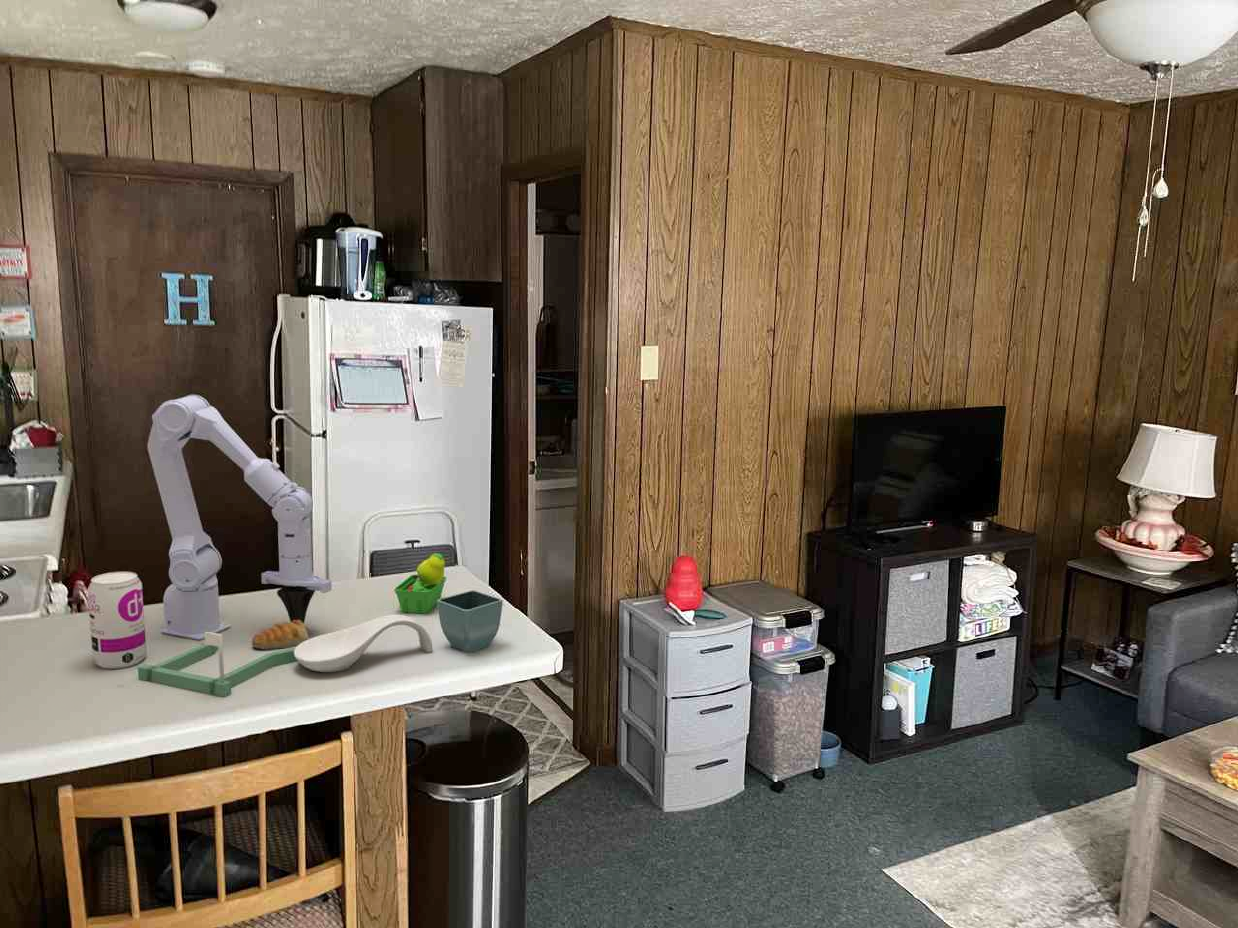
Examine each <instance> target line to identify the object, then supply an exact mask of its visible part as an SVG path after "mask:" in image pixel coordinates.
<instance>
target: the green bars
mask: <svg viewBox="0 0 1238 928" xmlns="http://www.w3.org/2000/svg"><path fill="white" fill-rule="evenodd" d="M204 634H205V638H204V643H203V644H200V645H199V646H196V647H194V648H191V649H190V650H187V651H185V652H183V653H180V654H178V655H176V656H173V657H171V658H169V659H166V660H164V661H162V662H160V663H157V664H154V665H151V664H146V663H144V664H142V665H140V666H138V667H137V671H138V672H137V674H138V680H143V681H148V682H152V683H156V684H162V685H165V686H166V685H167V686H170V687H176V688H180V689H183V690H184V689H185V690H190V691H193V692H199V693H203V694H209V695H214V696H218V697H222V698H225V697H227V696H229V695H232V688H233V687H235V686H237V685H239V684H241V683H243V682H244V681H247V680H248V679H250V678H253V677H254V676H257V675H259V674H260V673H263V672H264V671H267V670H268V669H271V668H273V667H277V666H280V665H285V664H289V663H294V662H298V661H297V659H296V658H295V656H294V650H295V648H296V647H293V648H288V649H282V650H279V651H274V652H269V653H266V654H264V655H263V656H260V657H257V658H256V659H254V660H252V661H250V662H248V663H245V664H244V665H241V666H239V667H237V668H235V669H233V670H231V671H229V672H227V673H224V671H225V669H224V651H223V634H222V633H221V632H217V633H210V632H204ZM217 651H218V665H219V666H218V667H219V677H217V678H215V677H209V676H205V675H204V676H203V675H199V674H195V673H189V672H185V671H180V670H181V669H184V668H186V667H189V666H191V665H193V664H195V663H197V662H200V661H202V660H204V659H206V658H208V657H211V656H213V655H215V654H216V652H217Z"/></svg>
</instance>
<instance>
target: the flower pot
mask: <svg viewBox="0 0 1238 928" xmlns="http://www.w3.org/2000/svg"><path fill="white" fill-rule="evenodd" d="M503 601H504V600H503V599H502V598H499V597H496V596H492V595H490V594H486V593H484V592H481V591H478V590H474V589H473V590H468V591H464V592H460V593H457V594H454V595H450V596H446V597H445V596H444V597H443V598H440V599H438V600H437V603H436V605H437V611H438V618H439V619H438V620H439V623H440V628H441V630H442V632H443V634H444V637H445V638H446V640H447V641H448V642H449V643H450V645H451V646H452V647H454V648H456V649H459V650H461V651H463V652H465V653H471V652H475V651H478V650H480V649H481V650H482V649H484V648H487V647H489V646H490V645H491V644H492V642H493V641H494V639H495V637H496V636H497V635H498V631H499V629H500V625H501V618H502V609H503V604H504V603H503Z"/></svg>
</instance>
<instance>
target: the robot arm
mask: <svg viewBox="0 0 1238 928" xmlns="http://www.w3.org/2000/svg"><path fill="white" fill-rule="evenodd" d="M151 419H152V426H151V429H150V433H149V437H148V441H147V451H148V454H149V458H150V463H151V466H152V469H153V473H154V477H155V481H156V484H157V488H158V492H159V495H160V498H161V502H162V506H163V509H164V513H165V516H166V517H165V518H166V520H167V524H168V528H169V532H170V536H171V540H172V541H171V545H170V548H169V550H168V551H169V552H168V556H169V562H170V564H169V569H168V577H169V580H170V581H171V584H170V585H169V586H167V588H166V589H165V591H164V595H163V599H162V600H163V601H162V604H163V618H164V620H163V621H164V629H162V630H161V633H162V634H166V635H167V634H168V635H173V636H177V637H178V636H179V637H183V638H188V639H194V640H204V639H205V634H204V632H210V633H221V632H223V631H224V630H226V629H229V628H231V627H232V626H231V624H230V623H224V622H220V621H221V619H220V617H221V616H220V615H221V614H220V599H219V585H218V583H219V582H218V578H217V573H218V572H219V571H220V570H221V567H222V564H223V559H222V556H221V553H220V552H219V551H218V549H217V548H215V546H214V544H213V541H212V537H210V535H208V534H207V532H205V531H204V530H203V526H202V521H201V519H200V514H199V511H198V507H197V504H196V499H195V496H194V492H193V488H192V485H191V482H190V477H189V474H188V470H187V467H186V463H185V459H184V455H183V451H182V450H183V448H185V447H184V446H186V444H187V443H188V441H189V440H190V439H198V440H204V441H210V442H211V443H212V444H213V445H215V446H216V447H217V448H218V449H219V450H220V451H221V452H223V454H225V455H226V456H227V457H228V458H229V459H231V460H232V461H233V462H234V463H235V464H236V465H237V466H238V467H239V468H240V469H242V470H243V475H244V476H243V480H244V482H245V483H247V485H248V486H249V487H250V488H251V489H252V490H253V491H255V493H256V494H257V495H258V496H259V497H260V498H261V499H262V500H263V501H264V502H265V503H267V504H268V505H269V506H270V507H271V508H272V509H271V514H272V516H273V518H274V519H275V521H276V522H277V537H278V538H277V539H278V540H277V541H278V542H277V543H278V544H277V545H278V564H279V565H278V566H279V571H271V570H267V571H265V572H262V573H261V575H260V576H261V584H264V585H267V584H271V585H272V584H273V585H279V586H280V585H281V587H280V589H278V590H277V591H276V593H277V596H278V598H279V599H280V600H281V602H282V603H283V605H284V607H285V610H286V612H287V615H288V618H289V622H292V621H293V620H300V621H302V623H303V624H305V620H306V615H307V611H308V607H309V605H310V602H311V600H312V598H313V596H314V594H315V592H316V591H317V592H320V594H326V593H329V592H332V589H333V588H332V580H331V579H326V578H323V577H320V576H318V575H314V571H313V567H312V565H313V564H312V563H313V562H312V540H311V539H312V534H311V525H310V524H311V523H310V521H311V520H310V515H309V514H311V511H312V509H313V507H314V500H313V497H312V496H311V493H309V491H308V490H307V489H306V488H304V487H301V486H298V485H299V484H298V483H296V481H295V482H292V481H291V480H290V479H289V478H288V477H287V476H286V475H285V474H284V473H283V472H282V471H281V470H280V469H279V468H280V467H281V466H280V464H279V463H278V462H277V461H273V462H272V461H271V460H270V459H268V458H260V457H258V456H257V455H256V454H255V453H254V452H253V451H252V449H251V448H250V447H249V446H248V445H247V444H246V443H245V442H244V440H242V438H241V437H239V435H238V434H237V433H236V432H235V431H234V429H232V427H231V426H230V425H229V424H228V423H227V421H226V420H224V418H223V417H222V415H221V413H220V412H219V411H218V409H217V408H215V407H214V406H212V405H210V403H209V402H208V400H206V398H204V397H203V396H201V395H197V394H188V395H186V396H184V397H180V398H176V399H169V400H167V401H164V402H163V403H162V404H160V406H158V408H157V409H156V411H155V412H154V413H153V414H152V415H151Z"/></svg>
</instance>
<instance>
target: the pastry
mask: <svg viewBox="0 0 1238 928" xmlns="http://www.w3.org/2000/svg"><path fill="white" fill-rule="evenodd" d="M306 640H309V635H308V631H307V630H306V628H305V623H302V621H300V620H293V621H292V622H291V621H283V622H279V623H275V624H273V625H272V626H270V627H269V628H267V629H262V631H261V632H258V633H256V634H255V635H254V636H253V638H252V641H251V646H252V647H254V648H257V649H260V650H264V651H266V649H268V650H279V649H285V648H290V647H294V646H295V647H297V646H298V645H299V644H301V643H302V642H304V641H306Z"/></svg>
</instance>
